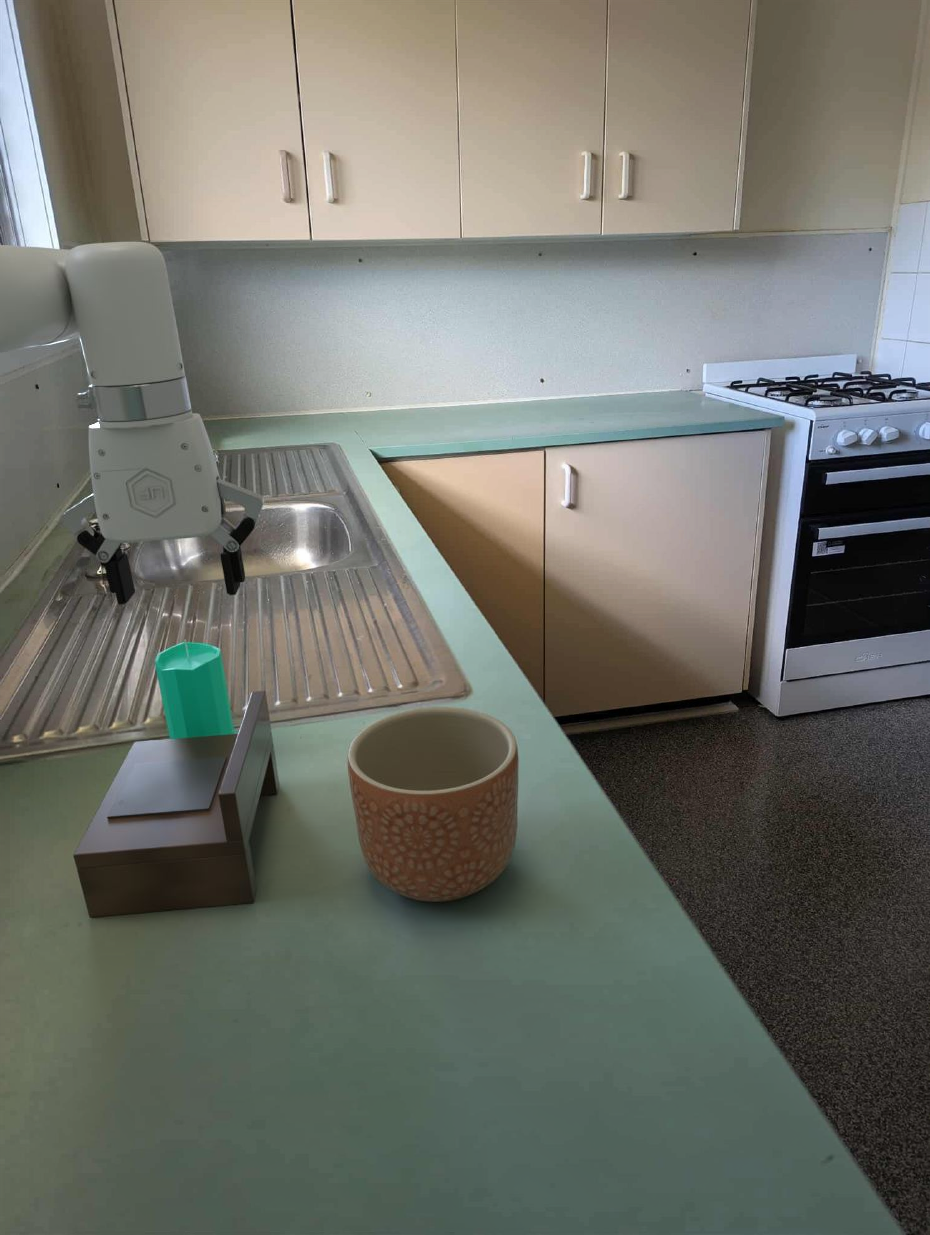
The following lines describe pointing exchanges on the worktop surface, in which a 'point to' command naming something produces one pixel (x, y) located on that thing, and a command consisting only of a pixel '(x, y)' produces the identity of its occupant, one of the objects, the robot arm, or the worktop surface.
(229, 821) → the wooden chair-shaped stand
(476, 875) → the planter
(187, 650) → the candle
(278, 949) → the worktop surface
